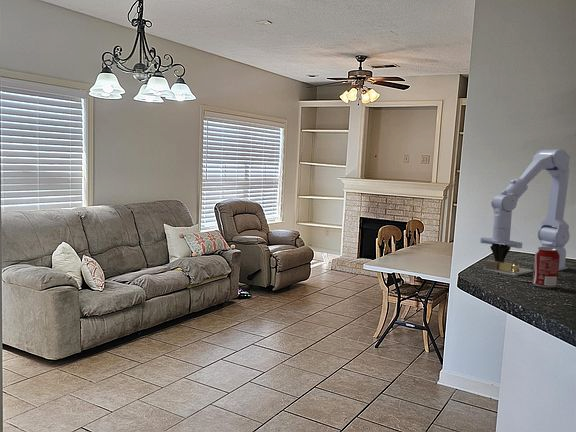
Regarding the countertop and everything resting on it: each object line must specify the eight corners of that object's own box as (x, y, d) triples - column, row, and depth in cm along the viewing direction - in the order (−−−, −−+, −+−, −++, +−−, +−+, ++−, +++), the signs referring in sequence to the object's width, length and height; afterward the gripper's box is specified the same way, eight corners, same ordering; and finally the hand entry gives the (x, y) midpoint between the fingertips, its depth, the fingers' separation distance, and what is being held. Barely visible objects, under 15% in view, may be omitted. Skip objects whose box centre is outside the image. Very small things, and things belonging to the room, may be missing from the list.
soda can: (559, 290, 155) (563, 250, 153) (536, 288, 156) (539, 249, 155) (553, 285, 161) (556, 247, 160) (530, 283, 162) (533, 246, 161)
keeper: (491, 267, 185) (491, 260, 184) (510, 270, 179) (510, 263, 179) (485, 268, 182) (486, 261, 182) (504, 271, 177) (505, 264, 177)
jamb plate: (500, 265, 191) (500, 263, 191) (532, 271, 182) (533, 269, 182) (482, 269, 183) (483, 267, 183) (516, 275, 174) (516, 273, 174)
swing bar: (520, 271, 176) (520, 262, 176) (517, 272, 175) (518, 263, 174) (488, 266, 184) (489, 258, 184) (485, 266, 183) (486, 258, 183)
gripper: (477, 226, 185) (474, 263, 186) (516, 231, 174) (513, 270, 175) (487, 225, 189) (484, 261, 191) (526, 229, 178) (523, 268, 180)
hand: (499, 265), depth 183 cm, fingers closed
